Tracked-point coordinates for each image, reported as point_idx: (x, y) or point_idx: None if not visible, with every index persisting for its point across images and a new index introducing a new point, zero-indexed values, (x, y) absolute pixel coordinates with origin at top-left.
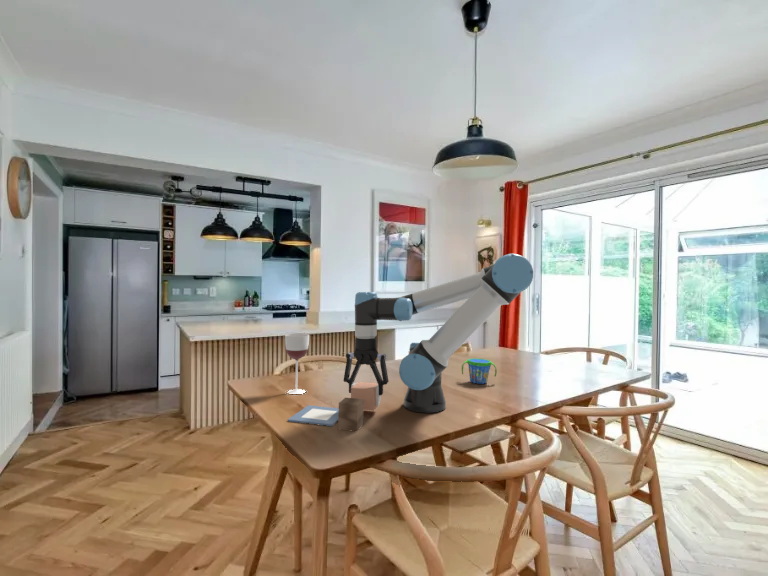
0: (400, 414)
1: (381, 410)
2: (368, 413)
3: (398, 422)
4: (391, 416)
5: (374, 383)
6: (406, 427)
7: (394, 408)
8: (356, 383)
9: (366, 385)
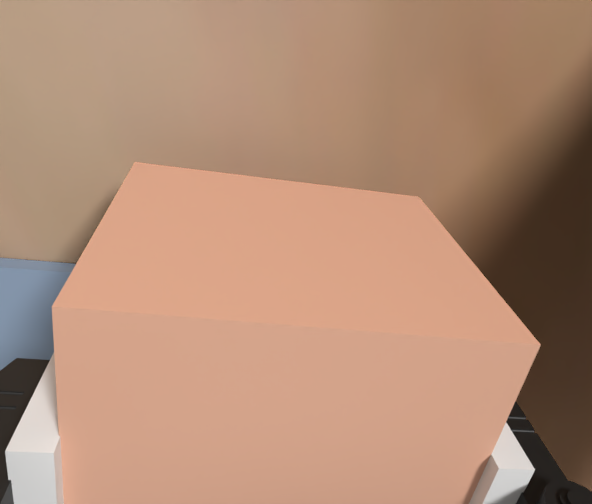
0: (577, 248)
1: (410, 176)
2: None
3: (527, 403)
4: None
5: (429, 366)
6: (562, 460)
7: (554, 84)
8: (57, 409)
9: (289, 492)
